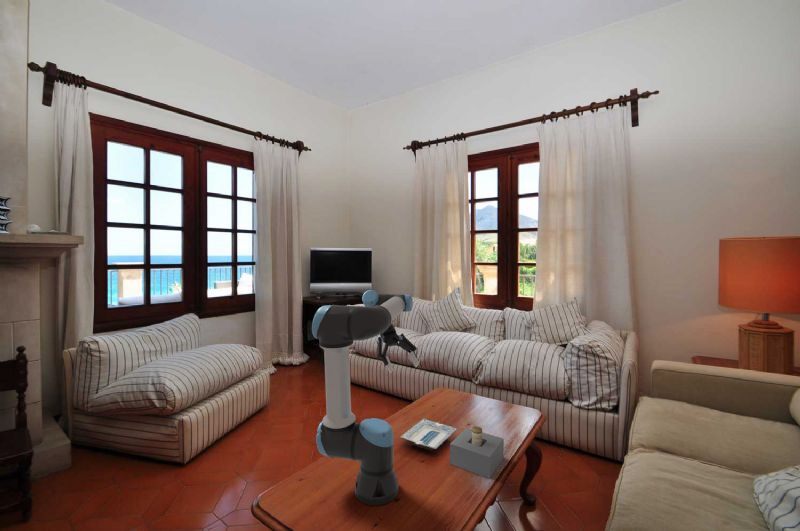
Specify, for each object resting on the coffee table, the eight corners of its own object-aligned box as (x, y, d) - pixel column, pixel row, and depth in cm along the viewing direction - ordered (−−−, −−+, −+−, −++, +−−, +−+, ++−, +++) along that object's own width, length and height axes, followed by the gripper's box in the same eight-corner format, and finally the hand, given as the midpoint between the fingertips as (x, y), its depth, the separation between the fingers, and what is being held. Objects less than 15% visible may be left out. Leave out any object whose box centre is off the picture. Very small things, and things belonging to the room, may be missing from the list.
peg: (479, 462, 136) (479, 432, 136) (470, 459, 138) (470, 429, 138) (483, 457, 140) (483, 428, 139) (474, 454, 142) (474, 425, 142)
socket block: (489, 478, 128) (489, 456, 128) (450, 464, 137) (450, 443, 137) (503, 458, 141) (503, 438, 141) (466, 446, 150) (466, 427, 150)
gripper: (404, 329, 171) (423, 367, 159) (359, 336, 156) (376, 378, 144) (410, 320, 166) (431, 358, 154) (364, 326, 152) (383, 369, 140)
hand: (404, 368), depth 149 cm, fingers open, 13 cm apart
